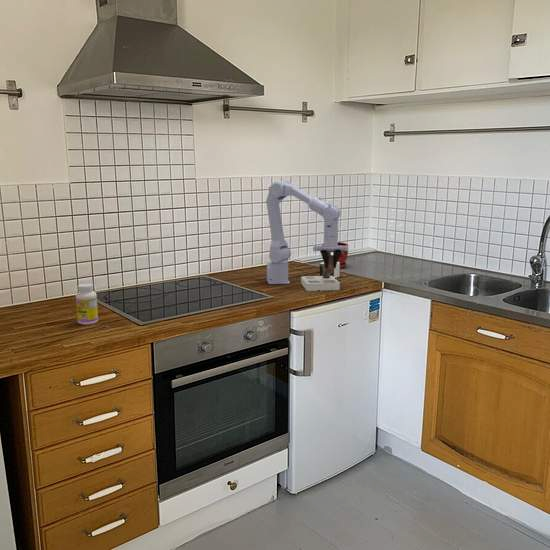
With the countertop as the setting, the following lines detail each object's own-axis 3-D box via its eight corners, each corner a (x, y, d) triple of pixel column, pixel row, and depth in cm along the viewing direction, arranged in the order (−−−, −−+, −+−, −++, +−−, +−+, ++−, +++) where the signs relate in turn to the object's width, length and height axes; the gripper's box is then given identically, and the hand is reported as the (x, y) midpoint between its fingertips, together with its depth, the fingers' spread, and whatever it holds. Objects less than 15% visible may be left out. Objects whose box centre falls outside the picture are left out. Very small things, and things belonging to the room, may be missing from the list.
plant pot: (316, 265, 284) (317, 242, 281) (339, 263, 289) (339, 241, 287) (330, 270, 272) (330, 246, 270) (352, 268, 278) (353, 244, 275)
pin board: (306, 290, 232) (307, 272, 230) (301, 283, 245) (301, 265, 243) (339, 290, 233) (340, 271, 232) (332, 282, 247) (332, 264, 245)
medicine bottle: (319, 278, 255) (319, 252, 253) (325, 275, 261) (325, 250, 259) (333, 280, 252) (334, 253, 249) (339, 277, 258) (340, 251, 256)
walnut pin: (325, 271, 236) (326, 255, 235) (332, 271, 237) (332, 255, 235) (327, 273, 233) (328, 256, 232) (334, 272, 234) (334, 256, 232)
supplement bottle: (73, 322, 186) (70, 285, 183) (89, 318, 191) (87, 281, 189) (86, 326, 182) (83, 288, 180) (102, 321, 188) (100, 284, 185)
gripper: (315, 237, 227) (315, 270, 230) (350, 236, 228) (349, 269, 231) (312, 234, 234) (311, 266, 236) (346, 234, 235) (345, 266, 238)
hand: (330, 267), depth 234 cm, fingers closed on walnut pin, 3 cm apart
